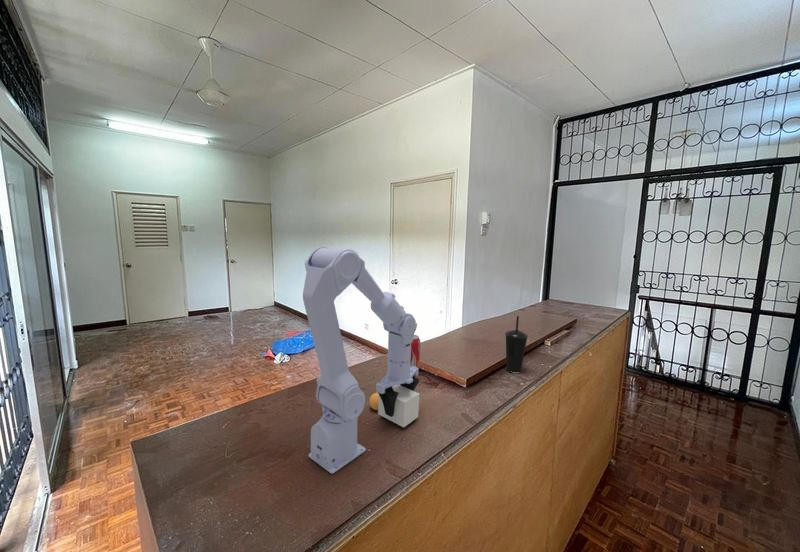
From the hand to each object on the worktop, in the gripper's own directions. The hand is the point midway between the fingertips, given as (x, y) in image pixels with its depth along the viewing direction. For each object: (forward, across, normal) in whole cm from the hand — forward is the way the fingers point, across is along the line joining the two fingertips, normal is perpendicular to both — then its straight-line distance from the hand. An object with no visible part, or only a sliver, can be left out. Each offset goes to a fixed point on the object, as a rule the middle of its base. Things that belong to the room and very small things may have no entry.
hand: (397, 409), depth 82 cm
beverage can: (+3, +27, +16) cm, 32 cm away
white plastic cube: (+2, 0, 0) cm, 2 cm away
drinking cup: (+3, +51, -12) cm, 52 cm away
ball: (0, 0, +7) cm, 7 cm away
